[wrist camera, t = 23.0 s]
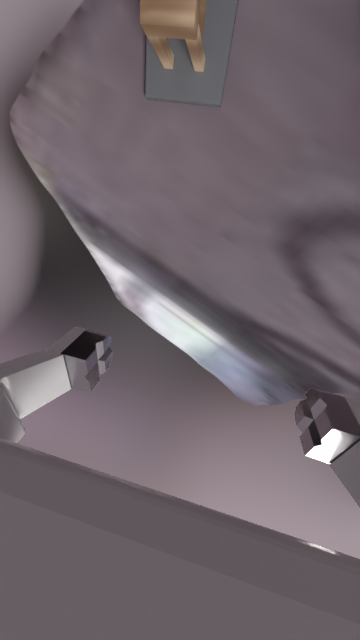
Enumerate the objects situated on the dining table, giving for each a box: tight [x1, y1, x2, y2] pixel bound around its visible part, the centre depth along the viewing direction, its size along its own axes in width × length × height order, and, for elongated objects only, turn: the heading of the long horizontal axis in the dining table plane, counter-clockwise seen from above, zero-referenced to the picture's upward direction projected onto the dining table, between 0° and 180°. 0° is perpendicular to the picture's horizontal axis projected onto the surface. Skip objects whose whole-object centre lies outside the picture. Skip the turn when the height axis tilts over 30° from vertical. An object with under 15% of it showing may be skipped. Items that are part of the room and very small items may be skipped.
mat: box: [145, 0, 238, 107], centre depth 25 cm, size 16×11×1 cm
